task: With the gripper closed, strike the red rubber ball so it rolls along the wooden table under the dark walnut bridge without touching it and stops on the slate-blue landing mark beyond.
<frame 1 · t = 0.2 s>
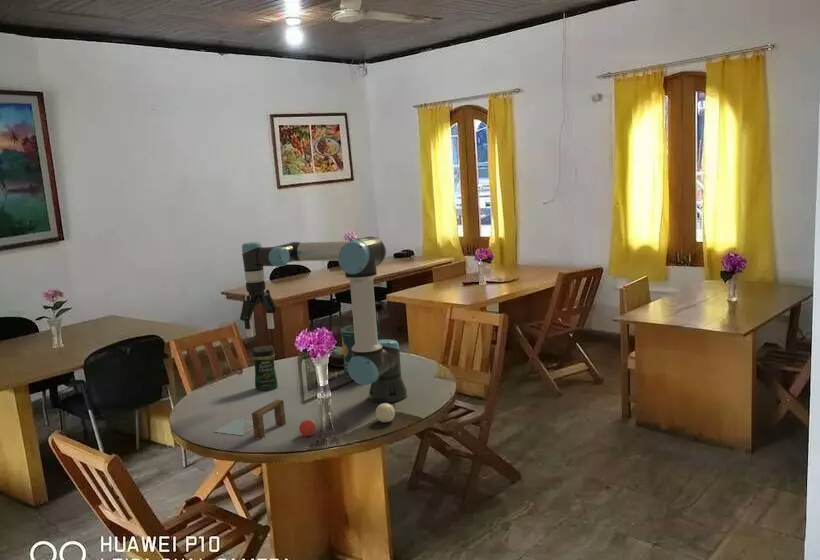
hand: (260, 332, 283), 28 cm above the table, tool pointing down, fingers open, 13 cm apart
coffee jar: (267, 388, 302), on the table
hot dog: (337, 366, 329), on the table
bridge: (270, 431, 250), on the table
ball: (307, 428, 243), on the table
baseball: (386, 422, 251), on the table
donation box: (363, 374, 313), on the table
landing mark: (239, 427, 257), on the table
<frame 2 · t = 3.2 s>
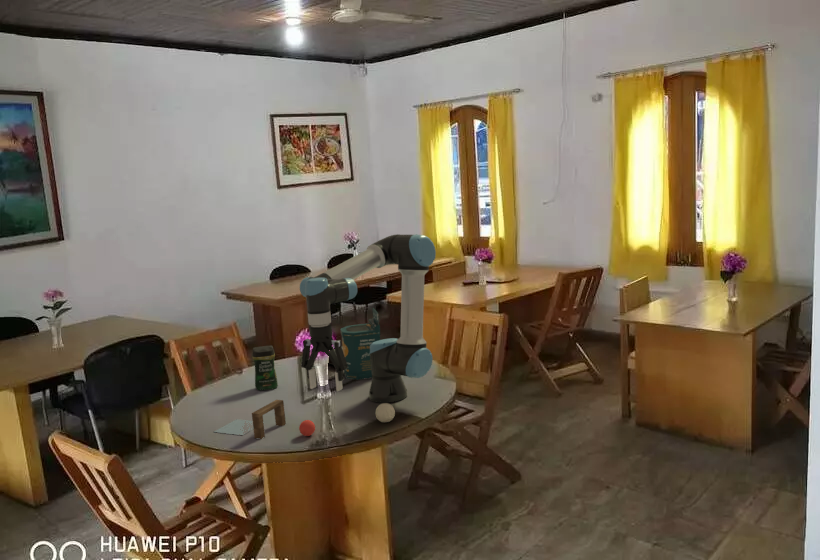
hand: (326, 388, 237), 18 cm above the table, tool pointing down, fingers open, 10 cm apart
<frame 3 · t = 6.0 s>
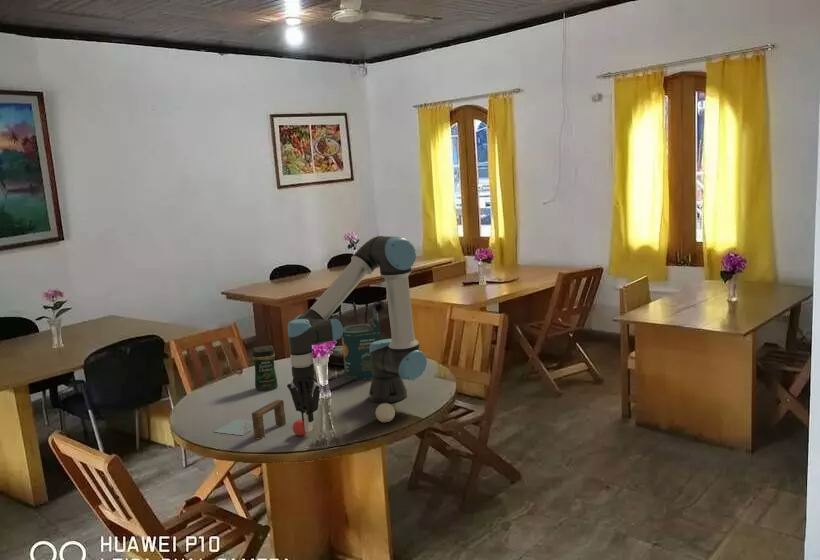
hand: (308, 430, 243), 2 cm above the table, tool pointing down, fingers closed
ball: (300, 427, 244), on the table, touching gripper
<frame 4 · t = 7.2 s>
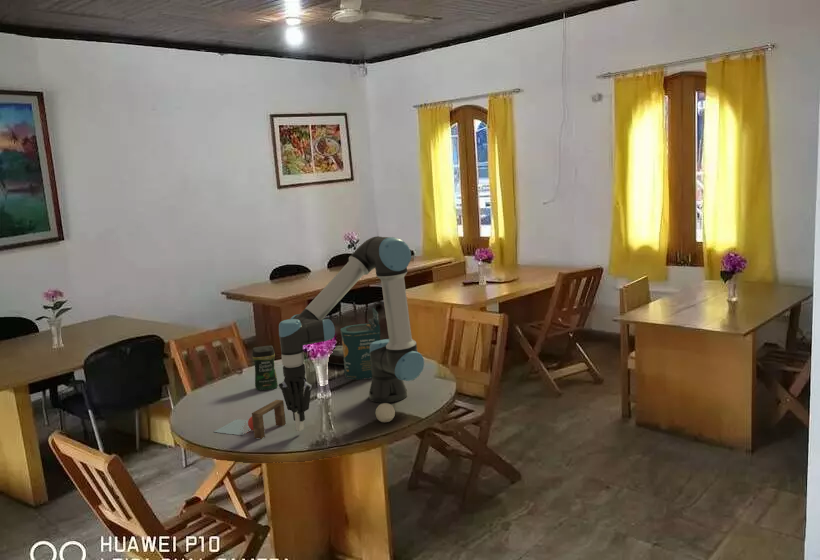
hand: (300, 429, 245), 2 cm above the table, tool pointing down, fingers closed
ball: (255, 423, 252), on the table
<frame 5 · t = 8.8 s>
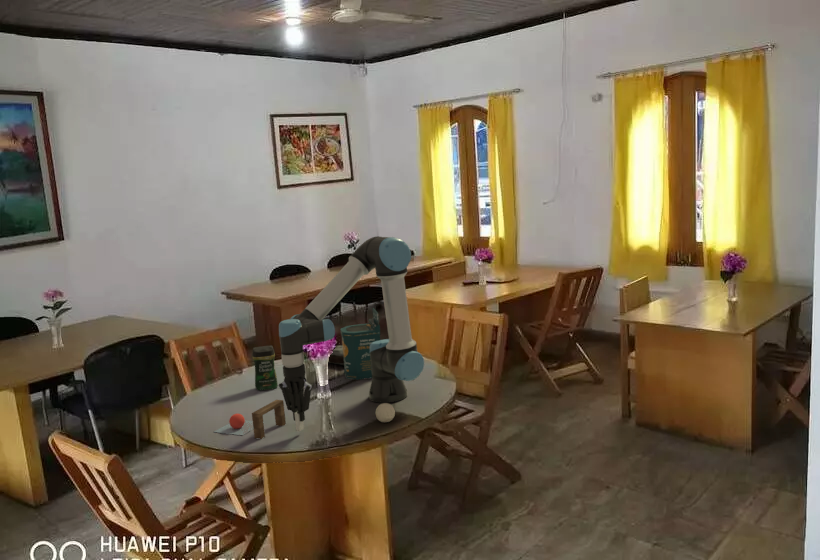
hand: (300, 429, 245), 2 cm above the table, tool pointing down, fingers closed
ball: (237, 421, 255), on the table
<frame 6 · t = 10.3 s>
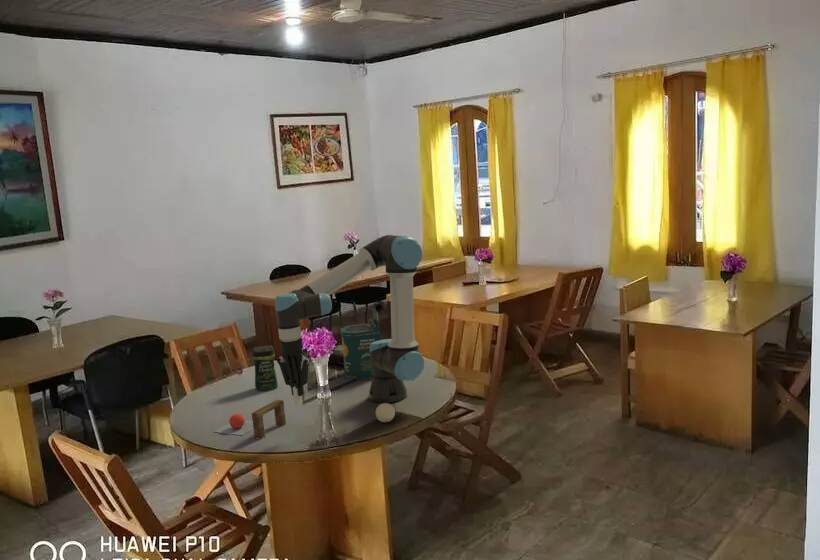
hand: (298, 404, 243), 11 cm above the table, tool pointing down, fingers closed
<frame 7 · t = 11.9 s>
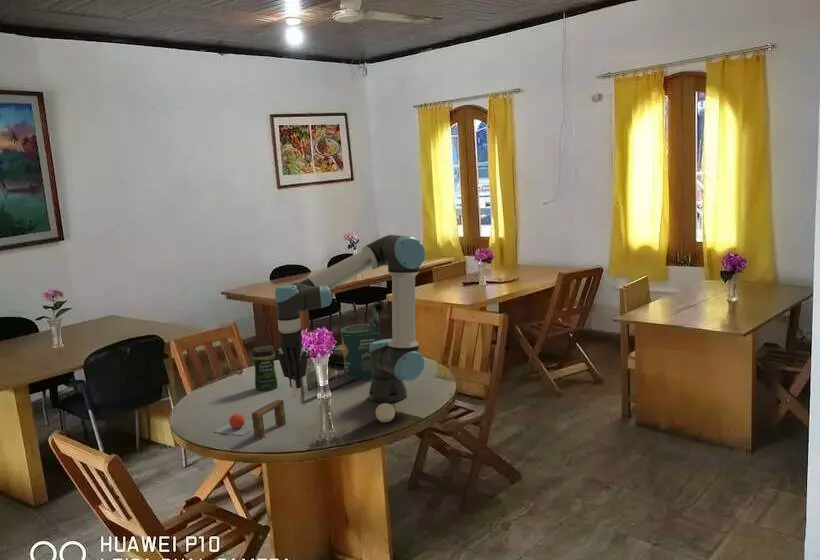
hand: (296, 396, 243), 14 cm above the table, tool pointing down, fingers closed
at the end: ball 0.9 cm from the landing mark (horizontally); ball never touched bridge; ball at rest at the end (0.0 cm/s) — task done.
